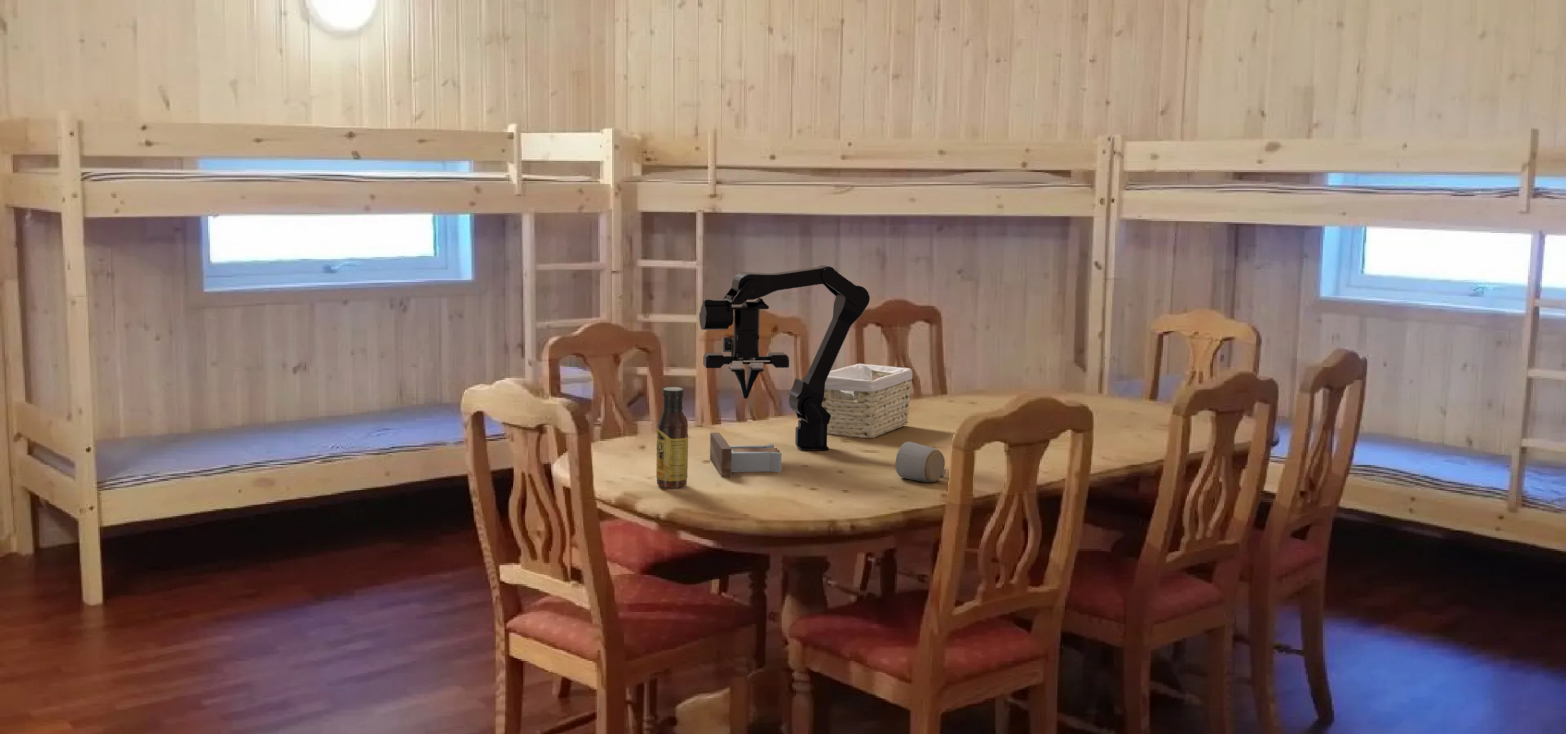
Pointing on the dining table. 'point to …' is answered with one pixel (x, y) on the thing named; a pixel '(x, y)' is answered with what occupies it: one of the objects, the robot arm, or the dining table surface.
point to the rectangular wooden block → (756, 450)
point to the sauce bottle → (672, 441)
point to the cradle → (755, 460)
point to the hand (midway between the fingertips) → (745, 398)
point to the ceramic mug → (920, 463)
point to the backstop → (720, 454)
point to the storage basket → (867, 400)
